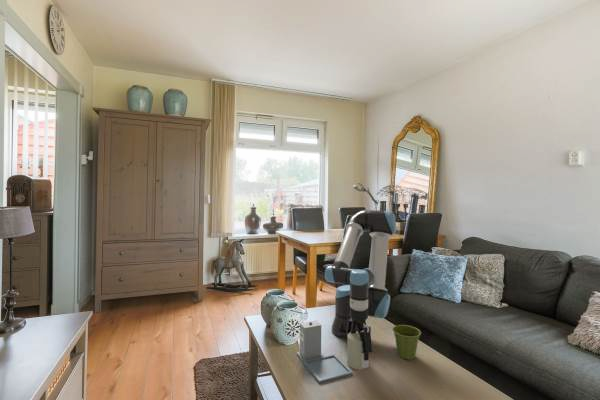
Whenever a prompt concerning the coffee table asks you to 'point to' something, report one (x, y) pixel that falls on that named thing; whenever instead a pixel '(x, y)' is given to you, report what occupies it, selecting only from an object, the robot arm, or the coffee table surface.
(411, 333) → the plant pot
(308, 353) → the box
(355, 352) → the can
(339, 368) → the tray
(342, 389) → the coffee table surface
